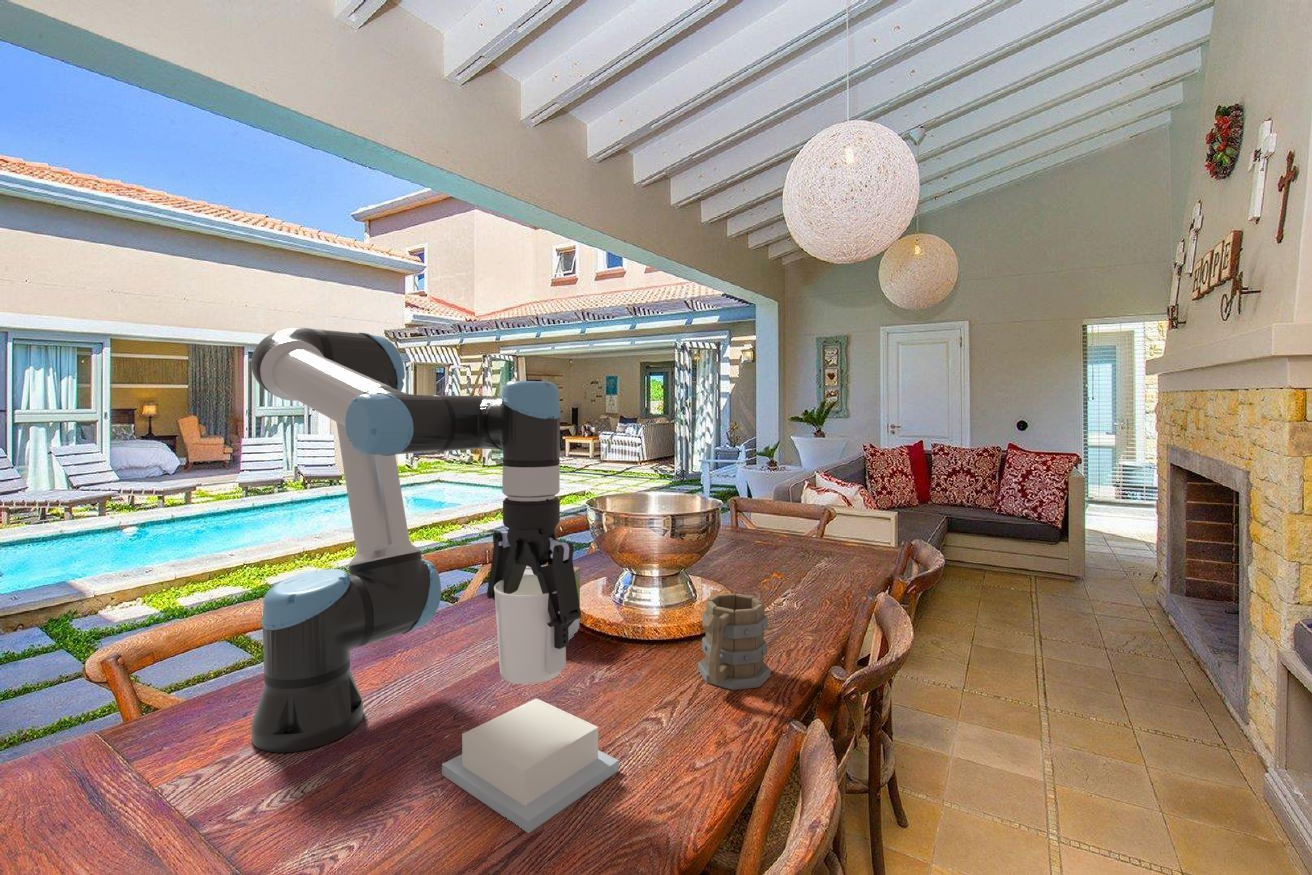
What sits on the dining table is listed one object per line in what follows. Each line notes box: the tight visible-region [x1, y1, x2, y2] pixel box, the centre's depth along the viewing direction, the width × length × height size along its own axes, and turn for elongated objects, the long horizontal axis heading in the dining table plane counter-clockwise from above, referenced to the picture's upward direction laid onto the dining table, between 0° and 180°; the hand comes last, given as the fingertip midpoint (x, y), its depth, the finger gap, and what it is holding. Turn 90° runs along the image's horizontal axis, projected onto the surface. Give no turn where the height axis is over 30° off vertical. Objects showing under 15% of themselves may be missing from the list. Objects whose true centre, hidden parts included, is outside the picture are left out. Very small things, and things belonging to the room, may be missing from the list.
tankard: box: [697, 592, 771, 691], centre depth 112 cm, size 20×13×15 cm, turn 149°
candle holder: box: [494, 575, 562, 685], centre depth 83 cm, size 10×10×12 cm
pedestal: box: [441, 697, 620, 834], centre depth 84 cm, size 18×16×6 cm
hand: (531, 660), depth 83 cm, fingers closed on candle holder, 9 cm apart
